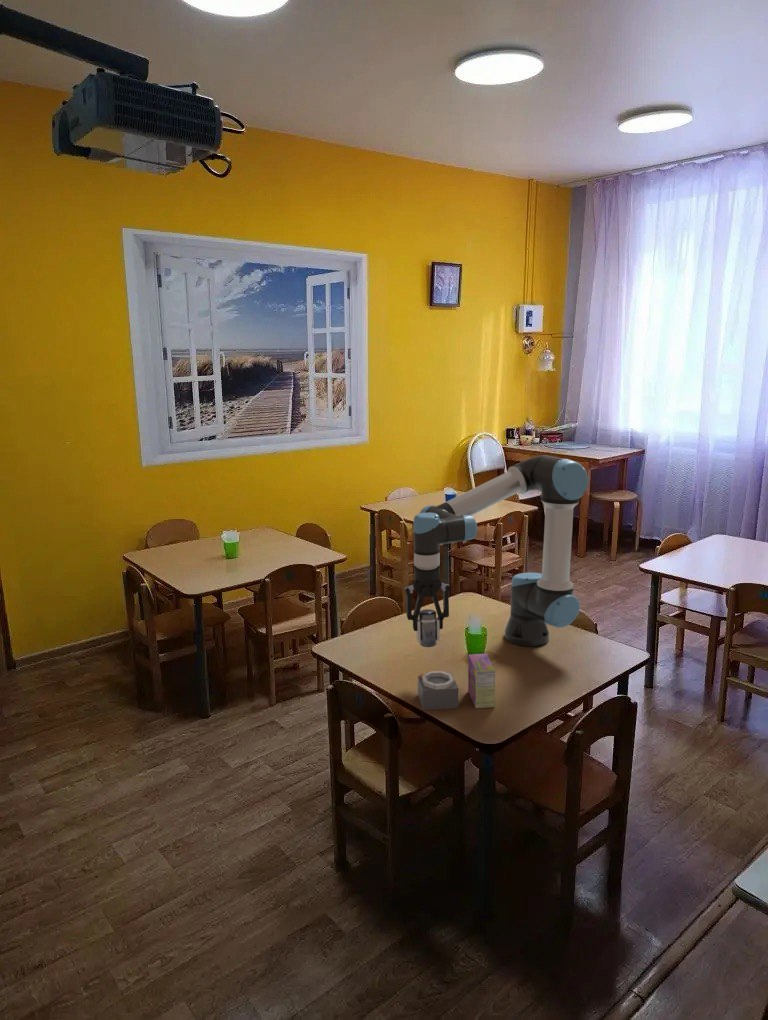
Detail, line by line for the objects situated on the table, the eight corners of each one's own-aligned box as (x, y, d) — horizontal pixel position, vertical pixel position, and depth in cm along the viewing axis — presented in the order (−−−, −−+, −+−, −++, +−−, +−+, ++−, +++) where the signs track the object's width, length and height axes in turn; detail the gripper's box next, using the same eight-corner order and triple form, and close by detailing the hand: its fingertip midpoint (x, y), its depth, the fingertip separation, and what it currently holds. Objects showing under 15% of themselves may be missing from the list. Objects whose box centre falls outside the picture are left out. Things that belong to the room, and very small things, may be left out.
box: (467, 691, 202) (468, 654, 200) (486, 690, 203) (487, 653, 200) (474, 709, 192) (475, 670, 190) (494, 707, 193) (496, 669, 190)
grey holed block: (451, 692, 201) (451, 669, 200) (458, 708, 193) (458, 684, 191) (417, 694, 200) (417, 672, 199) (423, 710, 192) (423, 686, 190)
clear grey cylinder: (435, 639, 209) (434, 608, 207) (438, 646, 204) (437, 614, 202) (418, 640, 209) (417, 609, 206) (421, 647, 204) (420, 616, 202)
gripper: (454, 560, 205) (455, 632, 211) (394, 563, 204) (396, 636, 209) (460, 567, 198) (460, 642, 204) (397, 571, 196) (399, 647, 202)
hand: (428, 639), depth 206 cm, fingers closed on clear grey cylinder, 5 cm apart
